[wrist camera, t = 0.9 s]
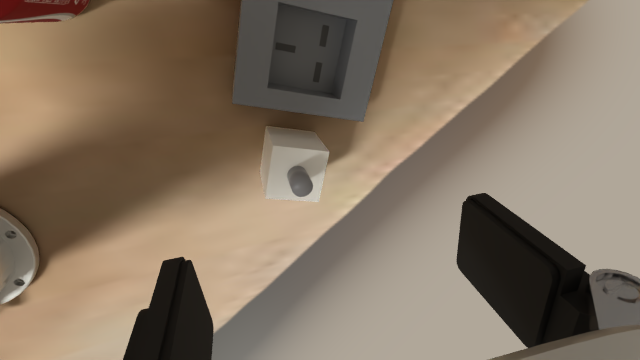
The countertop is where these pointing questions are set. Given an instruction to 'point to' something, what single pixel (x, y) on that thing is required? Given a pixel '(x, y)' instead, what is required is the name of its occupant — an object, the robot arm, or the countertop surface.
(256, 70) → the socket plate
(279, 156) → the plug
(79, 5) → the soda can
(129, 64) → the countertop surface
